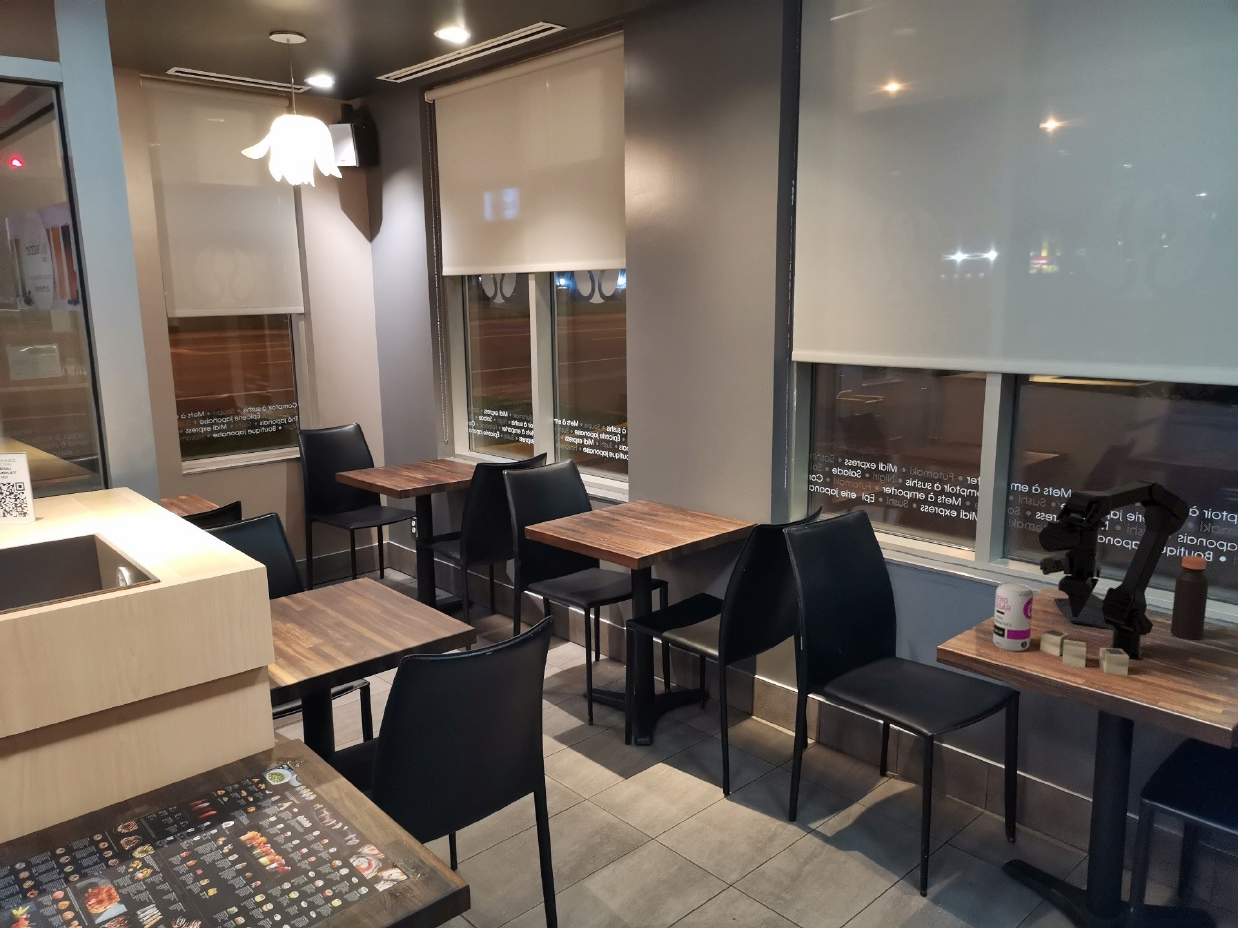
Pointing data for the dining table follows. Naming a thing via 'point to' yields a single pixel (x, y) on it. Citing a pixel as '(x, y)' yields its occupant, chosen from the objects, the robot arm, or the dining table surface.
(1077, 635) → the dining table surface
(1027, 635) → the supplement can
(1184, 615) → the bottle
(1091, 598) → the dark slate chunk
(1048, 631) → the labelled block
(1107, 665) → the labelled block
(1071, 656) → the plain block
